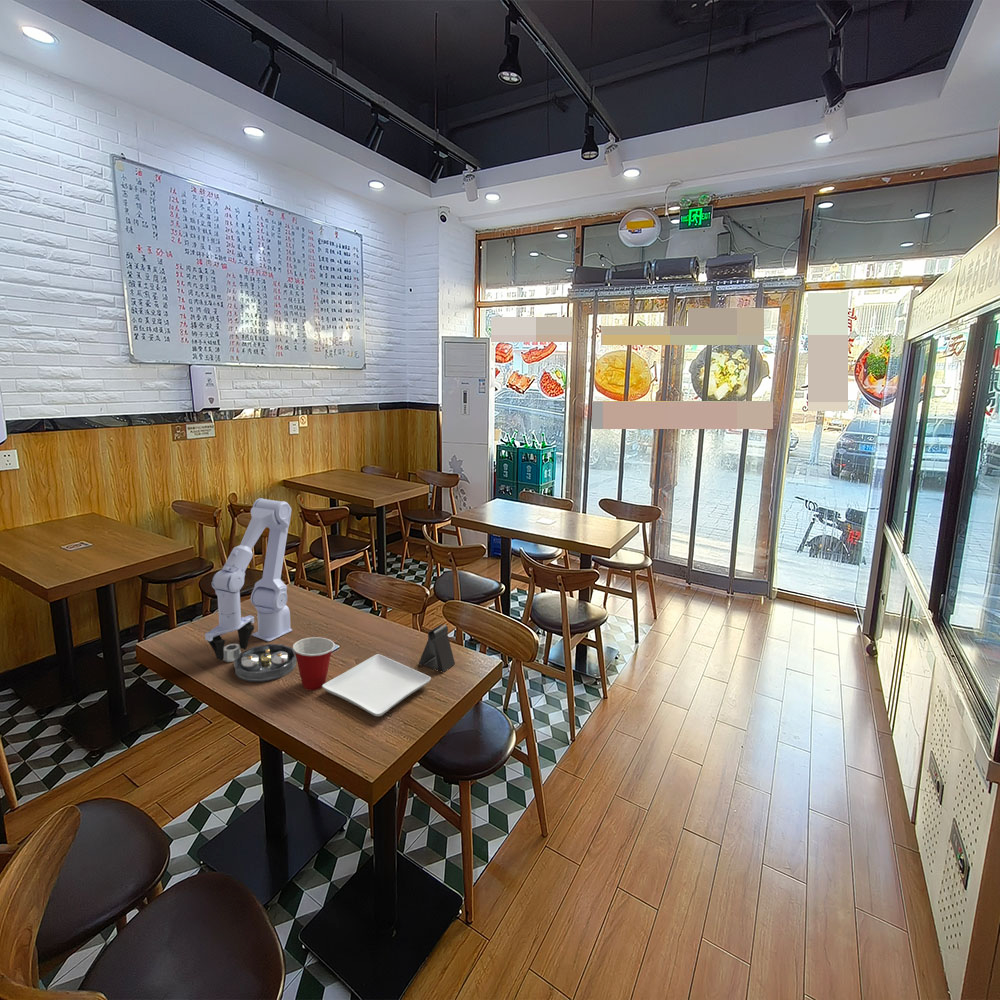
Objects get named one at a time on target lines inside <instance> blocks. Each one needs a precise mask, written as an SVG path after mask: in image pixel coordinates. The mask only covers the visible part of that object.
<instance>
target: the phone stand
mask: <svg viewBox="0 0 1000 1000" xmlns="http://www.w3.org/2000/svg"><path fill="white" fill-rule="evenodd" d="M448 634H449V628H448V626H447V624H444V623H440V624H439V625H437V626H435V628H433V629H431V630H430V631H428V632H427V637H428V638H427V642H426V644H425V646H424V649H423V652H422V654H421V656H420V658H419V661H418V664H419V665H420V664H421V665H420V666H423V667H425V666H427V667H426V668H428V667H429V668H428V669H431V668H432V670H433V669H436V670H438V671H437V672H439V671H442V672H444V671H445V672H446V671H448V670H449V669H451V668H452V667H453V666H454V665H456V663H455V659H454V655H453V651H452V646H451V643H450V639H449V635H448ZM452 665H453V666H452ZM451 666H452V667H451ZM448 668H449V669H448ZM447 669H448V670H447ZM436 670H435V671H436ZM445 672H444V673H445Z"/></svg>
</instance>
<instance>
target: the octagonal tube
mask: <svg viewBox="0 0 1000 1000" xmlns="http://www.w3.org/2000/svg"><path fill="white" fill-rule="evenodd" d="M241 649H242V648H241V647H240V645H239V643H229V644H226V645H224V659H223V660H222V661H224V662H226V663H232V662H233V663H234V660H235V659H236V658H237V657H238V656H239V655H240V653H242V652H241Z"/></svg>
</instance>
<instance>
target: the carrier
mask: <svg viewBox="0 0 1000 1000" xmlns="http://www.w3.org/2000/svg"><path fill="white" fill-rule="evenodd" d="M233 666H234V671H235V673H234V674H235V676H236V677H237V678H238V679H240V680H242V681H244V682H250V683H265V682H270V681H275V680H277V679H281V678H283V677H285V676H286V675H289V674H290V673H291V672H292V671H293V670H294V669H295V667H296V666H297V659H296V655H295V651H294V650H293V647H290V646H288V645H285V644H280V643H279V644H278V643H277V644H274V643H269V644H264V645H263V644H262V645H258V646H253V647H251V648H249V649H247V650H246V649H245V651H243V652H241V653H240V655H239V656H238V657H237V658H236V659H235V660H234V662H233Z"/></svg>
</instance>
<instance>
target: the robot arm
mask: <svg viewBox="0 0 1000 1000" xmlns="http://www.w3.org/2000/svg"><path fill="white" fill-rule="evenodd" d="M292 509H293V508H292V507H291V505H290V504H289V503H288V502H287V501H284V500H283V501H280V500H272V499H266V498H262V497H260V498H257V499H256V500H255V501H254V502H253V505H252V507H251V509H250V516H251V518H250V521H249V523H248V526H247V528H246V530H245V532H244V535H243V537H242V539H241V542H240V544H239V545H237V546H235V547H233V549H232V550H231V552H230V554H229V555H228V557H227V559H226V561H225V563H224V565H223V567H222V569H221V570H219V571H217V572H216V573H215V574H214V575H213V577H212V582H211V587H212V588H213V590H214V591H215V595H216V596H217V608H218V610H217V611H218V625H216V626H215V627H214V628H212V629H210V630H209V631H207V632H206V633H204V639H205V641H207V642H208V644H209V645H210V647H211V648H212V649H213V650H212V651H214V655H215V657H216V660H219V661H224V660H223V659H224V646H225V642H226V639H223V638H222V636H223V635H225V634H227V633H232V632H235V631H237V635H238V641H239V643H238V644H239V645H240V647H241V649H242V650H245V651H246V649H247V650H248V645H249V641H250V638H251V636H253V637H255V638H257V639H261V640H263V641H265V642H268V643H269V642H271V641H273V640H276V639H278V638H279V637H282V636H284V635H286V634H288V633H290V632H293V629H292V628H291V611H290V608H289V606H288V605H287V603H288V594H287V593H288V592H287V590H288V586H287V585H286V584H285V582H284V581H283V580H282V579H281V578H282V571H283V563H284V559H285V552H286V544H287V539H288V532H289V527H290V523H291V516H292ZM266 528H268V529H269V533H268V539H267V547H266V552H265V558H264V565H263V572H262V576H261V577H262V578H261V579H259V580H258V581H256V582H255V583H254V586H253V589H252V591H251V593H250V594H251V595H250V603H251V604H252V605H253V606H254V609H255V610H256V612H257V615H256V616H257V617H256V618H257V631H256V632H254V633H253V631H254V629H255V625H254V623H255V616H253V615H251V614H250V615H246V616H242V611H241V608H242V607H241V592H240V590H242V588H243V586H244V584H245V576H246V570H247V568H248V566H249V564H251V563H250V562H251V560H252V559H253V557H254V554H253V553H254V552H253V551H252V550H253V548H254V547H255V545H256V543H257V542H258V540H259V539H260V537H261V535H262V534H263V532H264V530H265V529H266Z"/></svg>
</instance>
